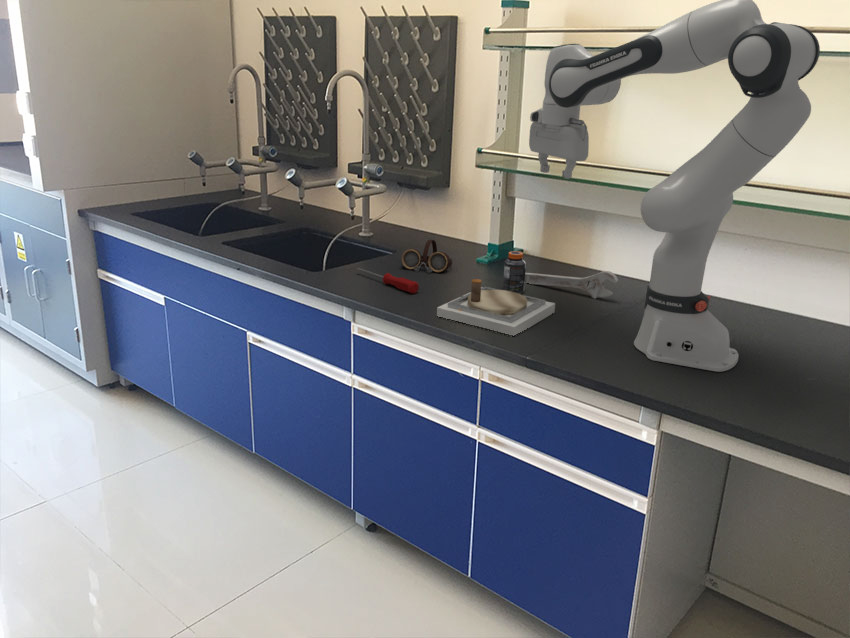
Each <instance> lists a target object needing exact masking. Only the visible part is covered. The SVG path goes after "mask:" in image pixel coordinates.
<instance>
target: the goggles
mask: <svg viewBox="0 0 850 638" xmlns="http://www.w3.org/2000/svg"><path fill="white" fill-rule="evenodd" d="M430 246H431V247H432V254H431V255H428V253H429V250H430ZM401 263H402V265H403V266H404V267H405V269H408V270H414V271H415V272H416V273H417V272H419V271H420V268H421V267H423V268H425V269H426V272H427V273H428V274H431V273H432V272H435V273H444V272H447V270H448V269H449V268H450V267H451V266H452V265H453V259H452V258H450V256H449V255H448V253H446V252H444V251H438V247H437V242H436V240H435V239H427V240H426V243H425V245H424V248H423V253H422V255H421V253H420V251H419V250H417V249H416V248H412V249H411V248H409V249H407V250H405V251H404V252H403V253H402V256H401Z"/></svg>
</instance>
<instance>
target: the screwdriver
mask: <svg viewBox="0 0 850 638" xmlns="http://www.w3.org/2000/svg"><path fill="white" fill-rule="evenodd" d="M357 270H359V271H361V272H364V273H368V274H370V275H373V276H376V277H378V278H382V282H383V284H386V285H392V286H394V287H395V288H396V289H399V290H401V291H404V292H408V293H410V294H414V295H415V294H417V292H418V291H419V288H420V285H419V283H418V282H417V281H415V280H414V281H413V280H411V279H408V278H405V277H397V276H393V275H392V274H391V273H390V272H386V273H385V274H384V275H381V274H377V273H375V272H372V271H369V270H366V269H362V268H358V267H357Z"/></svg>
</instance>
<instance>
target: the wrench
mask: <svg viewBox="0 0 850 638" xmlns="http://www.w3.org/2000/svg"><path fill="white" fill-rule="evenodd" d="M525 278H526V280H525V281H526V282H525V284H526V283H529V284H528V285H538V286H539V285H540V286H552V287H562V288H563V287H564V288H572V289H580V290H583V291H585V292H586V293H588V294H590V295H591V296H590V297H591V298H592V299H594V300H596V298H597V299H598V298H608V297H610V296H613V295H614V292H613V291H612V290H610V289H608V288H605V285H604V282H605V281H607V280H608V281H610V282H611V283H613V284H618V283H619V279H618V277H617V275H616V274H615V273H613V272H612V271H610V270H609V271H608V270H603V271H600V272H598V273H596V274H593V275H589V276H584V277H577V276H566V275H565V276H564V275H554V274H544V273H533V272H525Z"/></svg>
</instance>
